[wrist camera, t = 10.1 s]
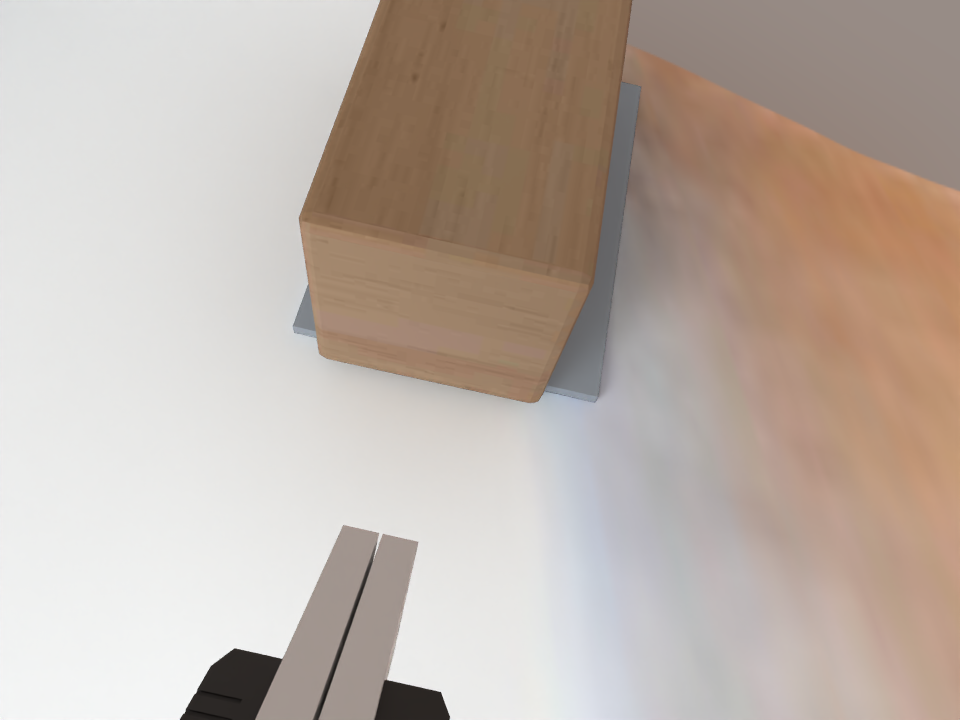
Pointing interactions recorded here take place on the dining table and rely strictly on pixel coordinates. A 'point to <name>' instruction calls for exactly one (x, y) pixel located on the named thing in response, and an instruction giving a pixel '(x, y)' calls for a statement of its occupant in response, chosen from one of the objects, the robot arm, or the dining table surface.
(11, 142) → the dining table surface
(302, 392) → the dining table surface
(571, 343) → the mat
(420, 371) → the wooden block
